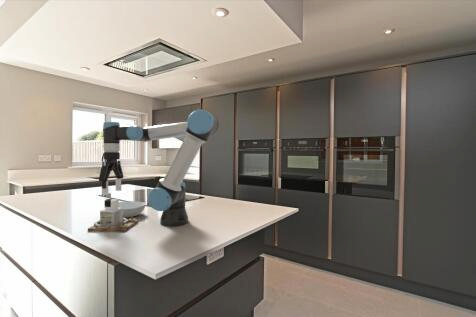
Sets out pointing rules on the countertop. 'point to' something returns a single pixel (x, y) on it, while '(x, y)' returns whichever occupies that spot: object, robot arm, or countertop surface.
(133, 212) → the serving bowl
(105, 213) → the container
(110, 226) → the gear board
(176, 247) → the countertop surface
